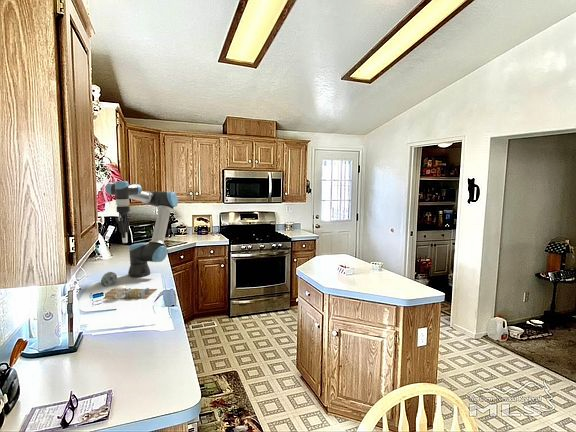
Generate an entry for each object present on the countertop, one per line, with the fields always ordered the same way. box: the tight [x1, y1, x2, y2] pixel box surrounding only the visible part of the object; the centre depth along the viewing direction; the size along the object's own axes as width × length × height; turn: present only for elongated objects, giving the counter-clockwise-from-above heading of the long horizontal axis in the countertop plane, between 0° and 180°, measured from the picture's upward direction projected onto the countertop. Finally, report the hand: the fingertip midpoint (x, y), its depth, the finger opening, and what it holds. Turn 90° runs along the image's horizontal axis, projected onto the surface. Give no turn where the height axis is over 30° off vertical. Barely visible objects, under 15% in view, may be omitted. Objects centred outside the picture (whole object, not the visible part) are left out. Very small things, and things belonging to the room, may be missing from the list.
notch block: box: [125, 287, 150, 298], centre depth 210 cm, size 8×12×4 cm, turn 90°
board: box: [102, 288, 158, 300], centre depth 214 cm, size 18×29×1 cm, turn 90°
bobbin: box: [113, 284, 128, 300], centre depth 208 cm, size 7×7×6 cm
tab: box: [130, 288, 141, 298], centre depth 209 cm, size 5×4×4 cm
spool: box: [100, 271, 118, 287], centre depth 235 cm, size 14×10×10 cm
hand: (125, 242), depth 223 cm, fingers closed
